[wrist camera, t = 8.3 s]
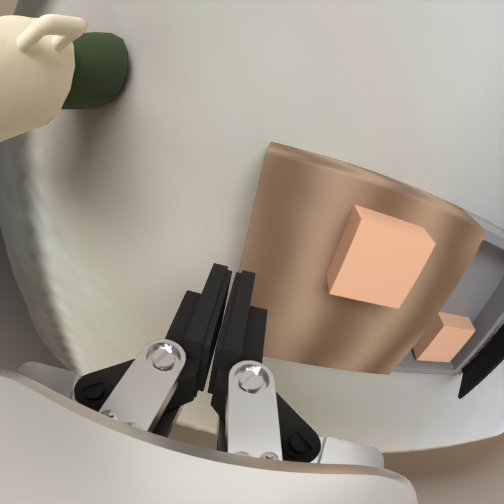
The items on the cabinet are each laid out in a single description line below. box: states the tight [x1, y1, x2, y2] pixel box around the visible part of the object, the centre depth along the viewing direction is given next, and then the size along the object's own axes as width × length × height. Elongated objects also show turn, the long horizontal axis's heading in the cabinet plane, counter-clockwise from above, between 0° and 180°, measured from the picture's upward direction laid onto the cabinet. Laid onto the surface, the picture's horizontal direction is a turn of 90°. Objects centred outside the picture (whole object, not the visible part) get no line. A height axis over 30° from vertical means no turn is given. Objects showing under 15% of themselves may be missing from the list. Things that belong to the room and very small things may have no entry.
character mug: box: [0, 14, 128, 142], centre depth 10 cm, size 11×7×13 cm, turn 103°
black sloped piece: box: [458, 325, 504, 399], centre depth 23 cm, size 12×7×10 cm
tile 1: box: [413, 312, 476, 362], centre depth 23 cm, size 5×5×2 cm
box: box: [393, 209, 504, 375], centre depth 21 cm, size 10×16×4 cm, turn 169°
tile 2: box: [327, 205, 436, 309], centre depth 16 cm, size 5×5×2 cm
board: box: [239, 142, 487, 375], centre depth 20 cm, size 16×16×4 cm
